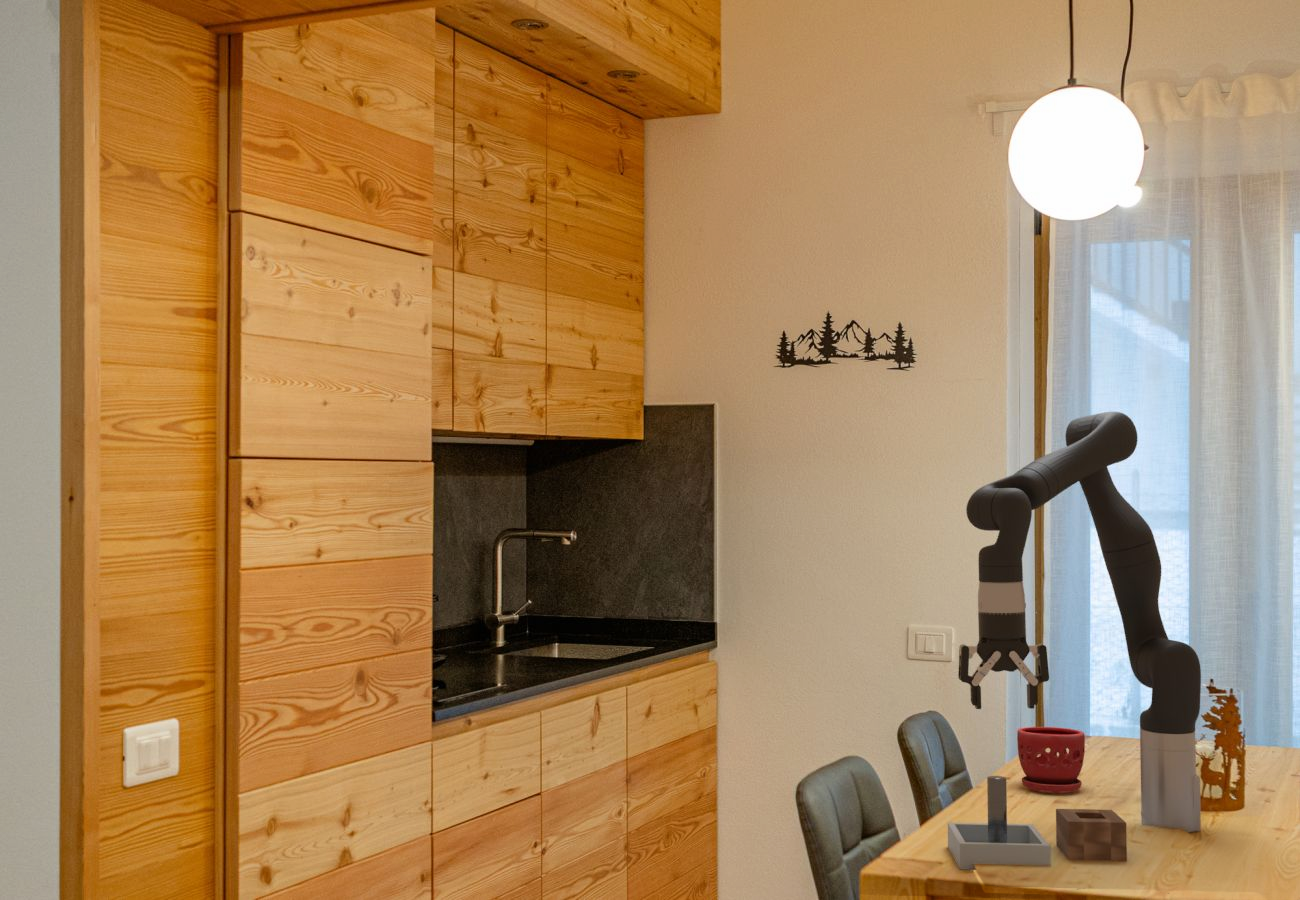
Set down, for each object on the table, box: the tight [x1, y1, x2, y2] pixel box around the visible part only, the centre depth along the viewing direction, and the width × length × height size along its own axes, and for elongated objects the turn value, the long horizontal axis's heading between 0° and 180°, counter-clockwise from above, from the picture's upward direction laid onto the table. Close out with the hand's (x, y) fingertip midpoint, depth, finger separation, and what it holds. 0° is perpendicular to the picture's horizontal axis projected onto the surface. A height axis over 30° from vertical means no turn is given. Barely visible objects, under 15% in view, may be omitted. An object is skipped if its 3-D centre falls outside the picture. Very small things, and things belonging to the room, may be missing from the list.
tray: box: [947, 822, 1052, 871], centre depth 215 cm, size 14×14×4 cm
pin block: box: [1055, 808, 1128, 862], centre depth 215 cm, size 9×9×7 cm
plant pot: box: [1016, 726, 1086, 795], centre depth 269 cm, size 13×13×12 cm
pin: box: [986, 775, 1008, 843], centre depth 216 cm, size 3×3×12 cm
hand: (1004, 708), depth 218 cm, fingers open, 8 cm apart
